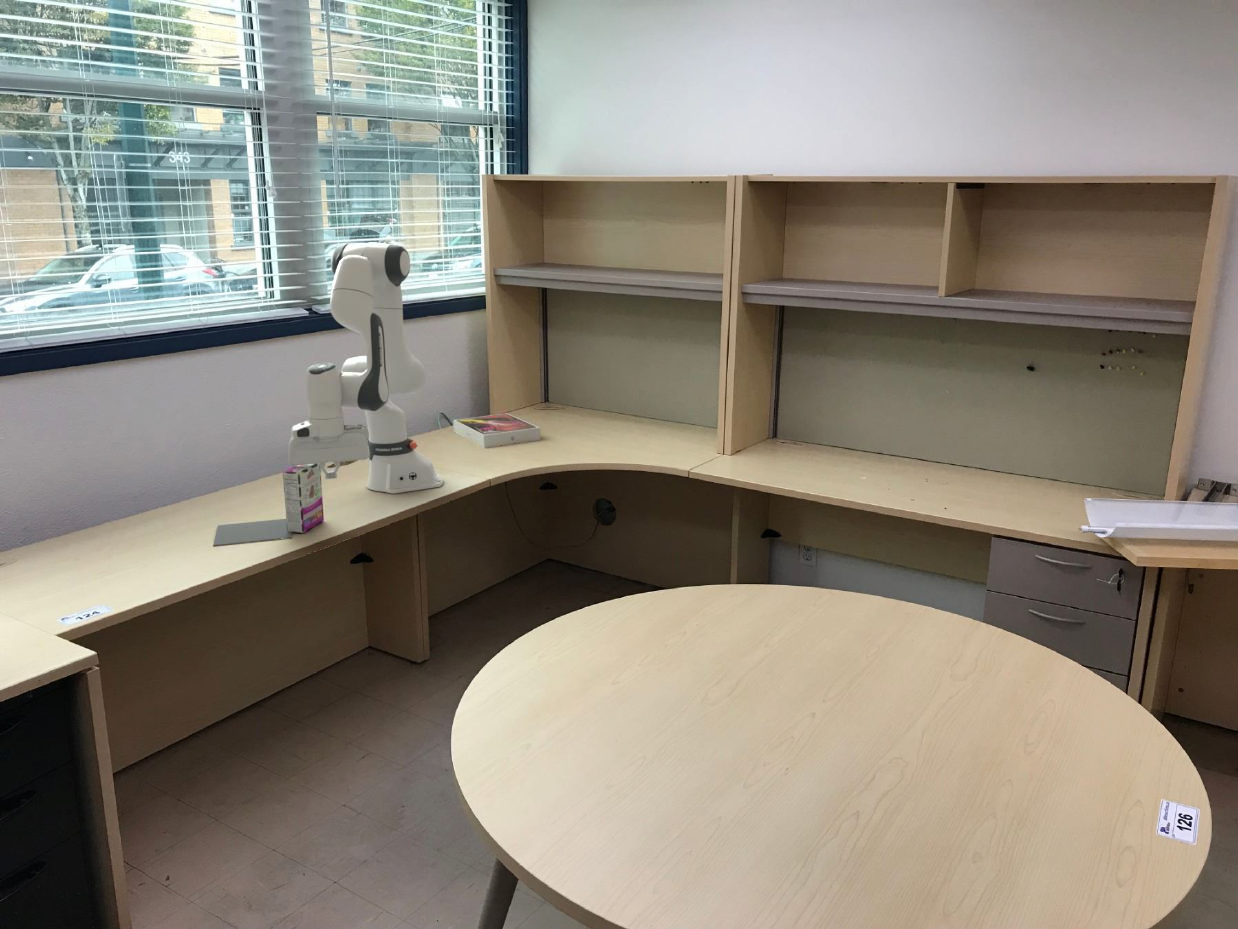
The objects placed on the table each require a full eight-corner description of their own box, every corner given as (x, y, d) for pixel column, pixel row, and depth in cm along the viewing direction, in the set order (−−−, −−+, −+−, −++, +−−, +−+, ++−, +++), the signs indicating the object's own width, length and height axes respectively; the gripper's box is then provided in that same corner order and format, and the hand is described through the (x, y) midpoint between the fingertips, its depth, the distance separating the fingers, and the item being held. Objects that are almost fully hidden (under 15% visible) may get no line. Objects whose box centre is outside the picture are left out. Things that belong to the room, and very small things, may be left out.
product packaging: (484, 449, 335) (483, 435, 334) (453, 433, 359) (453, 420, 357) (540, 441, 346) (540, 427, 345) (507, 426, 369) (506, 413, 368)
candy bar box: (307, 519, 261) (304, 460, 257) (324, 520, 260) (321, 461, 256) (285, 532, 251) (281, 470, 246) (303, 533, 250) (299, 472, 246)
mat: (291, 519, 262) (291, 518, 262) (291, 538, 247) (291, 537, 247) (218, 526, 256) (217, 525, 256) (213, 546, 242) (213, 545, 242)
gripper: (367, 421, 257) (370, 471, 260) (285, 427, 250) (290, 478, 254) (368, 426, 251) (372, 477, 254) (285, 432, 245) (290, 484, 248)
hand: (331, 478), depth 254 cm, fingers closed
